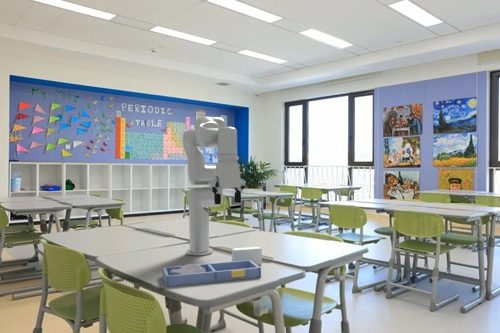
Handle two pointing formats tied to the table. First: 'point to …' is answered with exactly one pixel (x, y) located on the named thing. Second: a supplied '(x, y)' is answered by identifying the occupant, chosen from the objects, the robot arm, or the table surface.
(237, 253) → the white rectangular block
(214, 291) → the table surface
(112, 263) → the table surface
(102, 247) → the table surface
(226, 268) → the blue divided tray
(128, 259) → the table surface
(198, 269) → the grey grainy mound
